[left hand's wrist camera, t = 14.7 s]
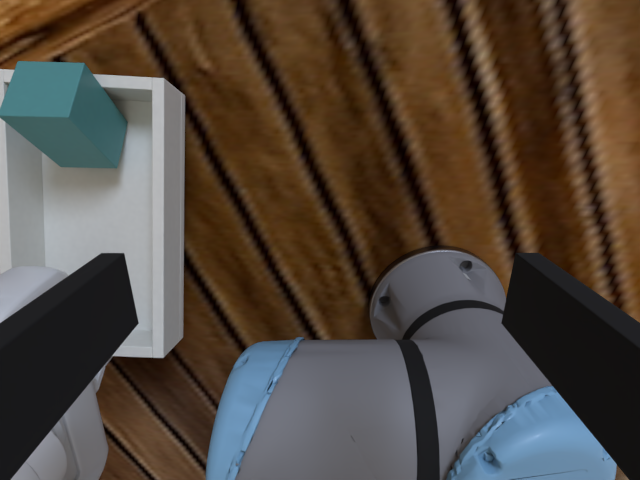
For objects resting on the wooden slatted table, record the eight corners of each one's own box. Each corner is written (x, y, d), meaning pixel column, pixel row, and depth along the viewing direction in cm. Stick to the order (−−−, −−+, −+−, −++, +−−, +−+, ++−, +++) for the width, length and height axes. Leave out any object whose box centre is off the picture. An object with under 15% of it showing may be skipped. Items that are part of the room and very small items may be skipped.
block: (128, 122, 34) (84, 62, 28) (117, 168, 32) (68, 117, 26) (74, 120, 34) (17, 60, 27) (60, 167, 32) (-4, 115, 26)
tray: (36, 87, 35) (-10, 68, 30) (185, 95, 35) (163, 77, 30) (45, 331, 37) (3, 352, 32) (183, 337, 37) (163, 358, 32)
